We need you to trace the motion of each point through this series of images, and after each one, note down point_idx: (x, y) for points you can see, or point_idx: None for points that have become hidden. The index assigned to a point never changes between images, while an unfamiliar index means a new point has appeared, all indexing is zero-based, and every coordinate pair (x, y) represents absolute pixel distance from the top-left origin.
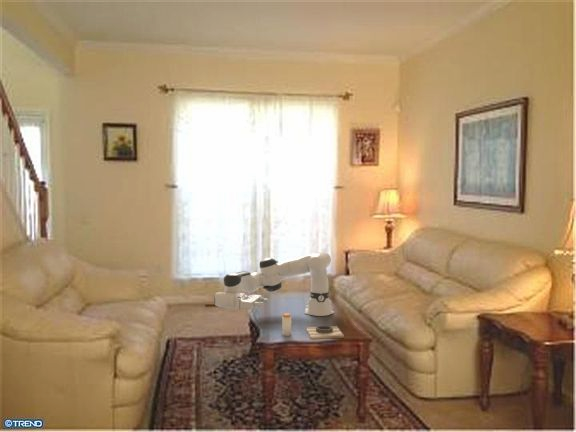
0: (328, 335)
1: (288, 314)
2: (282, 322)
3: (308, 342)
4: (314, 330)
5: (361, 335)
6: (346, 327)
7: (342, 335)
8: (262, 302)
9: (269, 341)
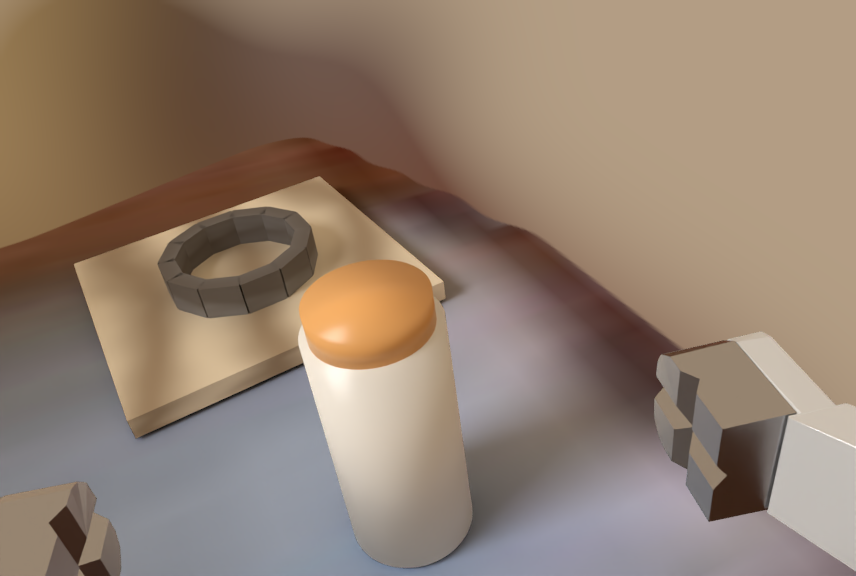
0: (357, 221)
1: (361, 281)
2: (434, 424)
3: (550, 279)
4: (239, 325)
5: (232, 164)
6: (34, 257)
7: (322, 179)
8: (677, 355)
9: (815, 559)
